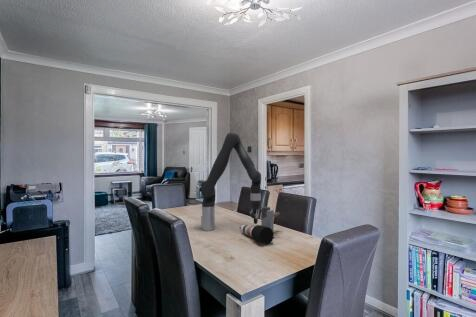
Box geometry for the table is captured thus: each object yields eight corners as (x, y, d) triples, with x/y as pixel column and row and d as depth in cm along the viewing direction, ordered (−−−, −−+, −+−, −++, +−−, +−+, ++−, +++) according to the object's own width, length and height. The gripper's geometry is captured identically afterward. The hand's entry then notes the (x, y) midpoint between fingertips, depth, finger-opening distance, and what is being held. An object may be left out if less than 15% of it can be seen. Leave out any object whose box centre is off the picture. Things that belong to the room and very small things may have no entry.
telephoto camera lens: (244, 237, 188) (248, 223, 191) (270, 246, 158) (275, 230, 160) (232, 232, 184) (237, 218, 187) (257, 241, 154) (263, 224, 157)
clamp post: (261, 236, 174) (261, 209, 174) (264, 235, 177) (264, 208, 177) (270, 238, 170) (270, 211, 169) (273, 237, 173) (273, 210, 172)
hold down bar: (261, 218, 174) (261, 207, 174) (275, 214, 187) (275, 203, 187) (266, 219, 172) (266, 208, 172) (279, 214, 185) (279, 204, 185)
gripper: (256, 197, 192) (256, 220, 192) (245, 200, 181) (245, 224, 182) (265, 198, 187) (265, 222, 187) (254, 201, 177) (254, 226, 177)
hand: (255, 223), depth 184 cm, fingers closed
